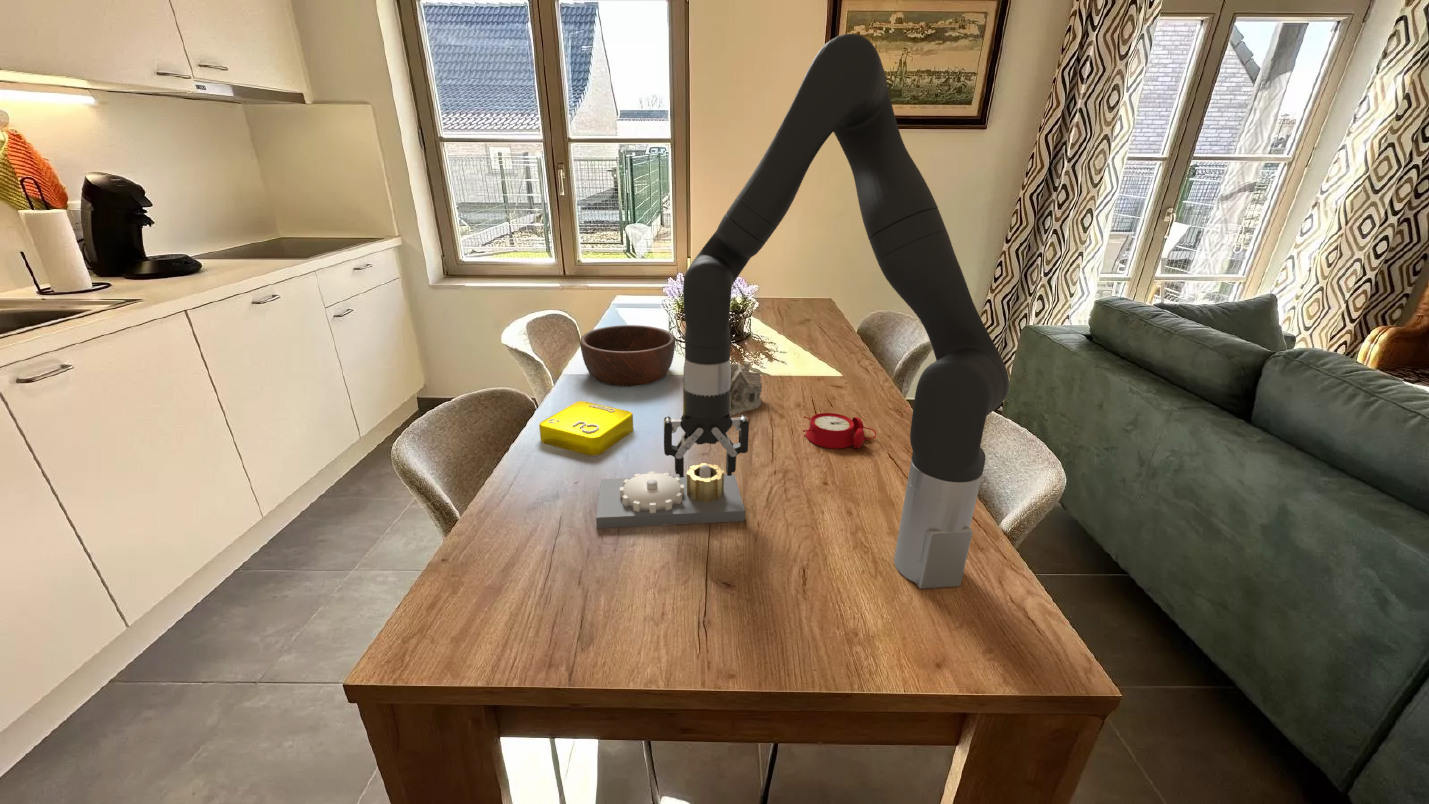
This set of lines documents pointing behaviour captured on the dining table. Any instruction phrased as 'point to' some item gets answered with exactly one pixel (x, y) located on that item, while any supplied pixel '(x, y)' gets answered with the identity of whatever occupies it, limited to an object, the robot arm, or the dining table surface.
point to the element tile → (586, 428)
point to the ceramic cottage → (744, 389)
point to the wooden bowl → (628, 354)
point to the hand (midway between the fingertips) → (705, 474)
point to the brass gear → (705, 483)
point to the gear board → (664, 501)
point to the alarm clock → (836, 431)
